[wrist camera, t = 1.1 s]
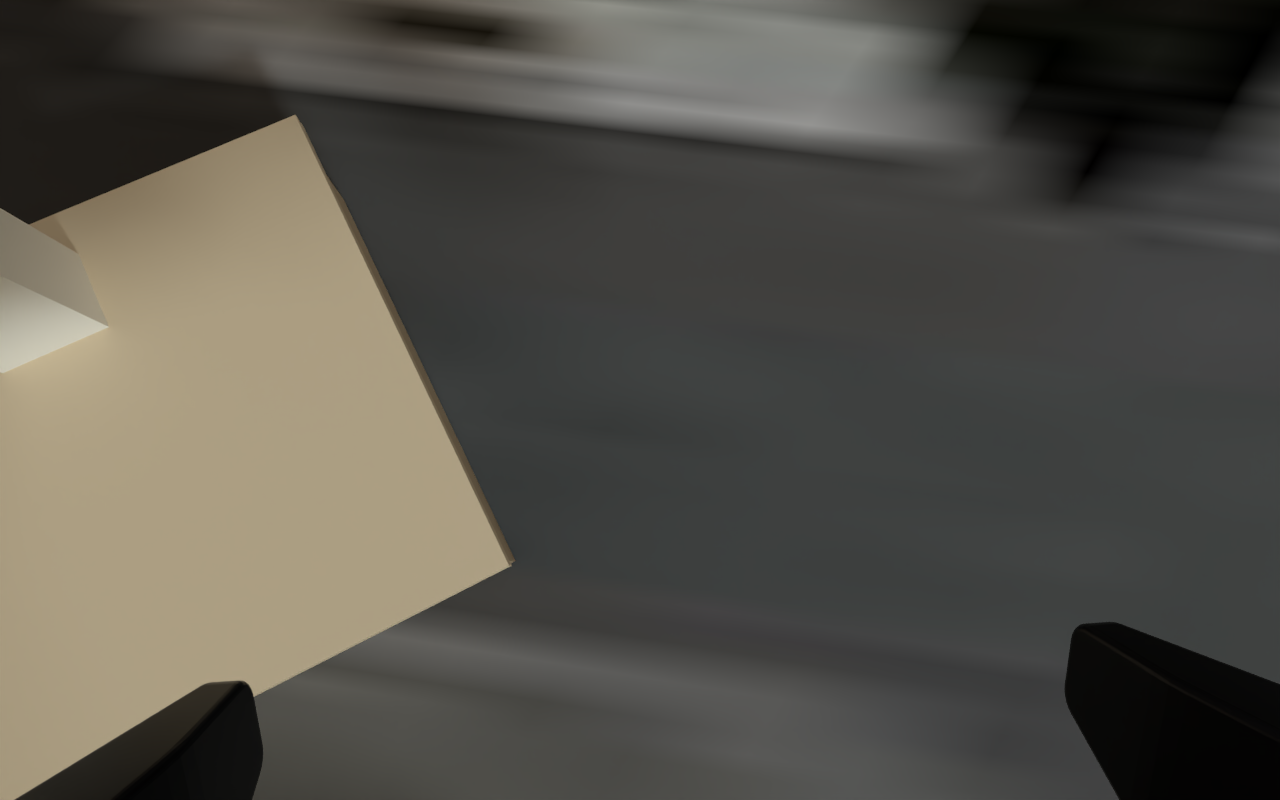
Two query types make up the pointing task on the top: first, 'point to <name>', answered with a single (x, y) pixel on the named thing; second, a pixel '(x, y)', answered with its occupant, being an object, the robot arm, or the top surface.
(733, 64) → the top surface
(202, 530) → the carton lid
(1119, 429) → the top surface
